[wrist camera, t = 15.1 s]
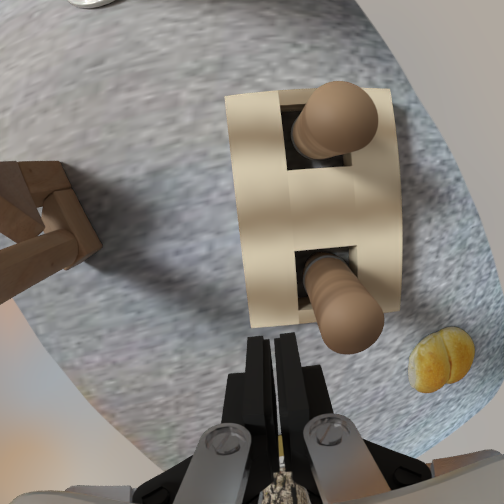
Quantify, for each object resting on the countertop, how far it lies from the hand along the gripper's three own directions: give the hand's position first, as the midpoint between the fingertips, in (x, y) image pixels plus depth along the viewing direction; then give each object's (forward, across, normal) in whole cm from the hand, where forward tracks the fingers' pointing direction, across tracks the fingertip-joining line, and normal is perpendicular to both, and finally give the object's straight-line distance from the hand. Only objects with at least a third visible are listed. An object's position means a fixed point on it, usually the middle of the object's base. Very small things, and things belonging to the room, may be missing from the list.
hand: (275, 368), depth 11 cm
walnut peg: (+19, -5, +3) cm, 20 cm away
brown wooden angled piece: (+20, +20, -6) cm, 29 cm away
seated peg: (+19, -5, -9) cm, 22 cm away
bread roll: (+19, -19, +16) cm, 31 cm away
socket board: (+19, -5, -3) cm, 20 cm away
